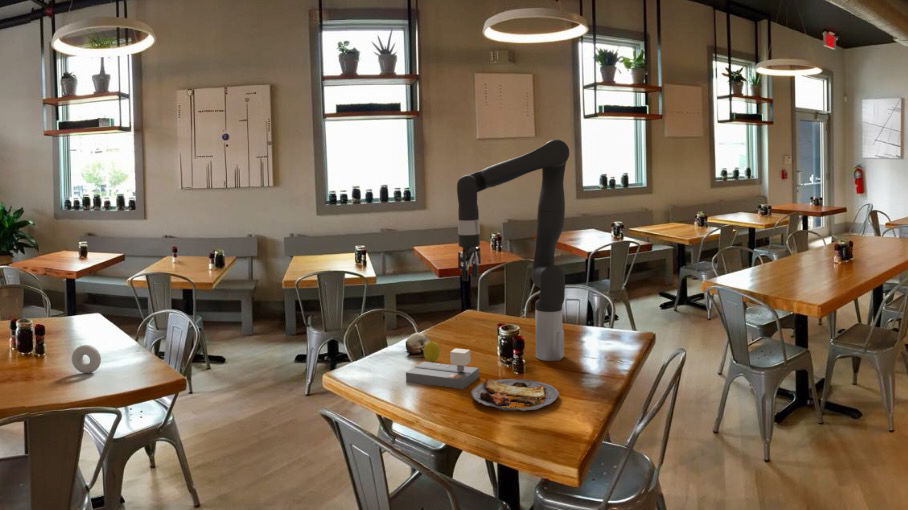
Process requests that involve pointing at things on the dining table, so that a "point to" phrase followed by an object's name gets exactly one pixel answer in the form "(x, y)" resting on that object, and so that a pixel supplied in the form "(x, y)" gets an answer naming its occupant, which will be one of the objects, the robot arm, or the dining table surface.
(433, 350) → the lemon
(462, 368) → the fader knob
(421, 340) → the skull
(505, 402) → the food plate
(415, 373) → the slider console
